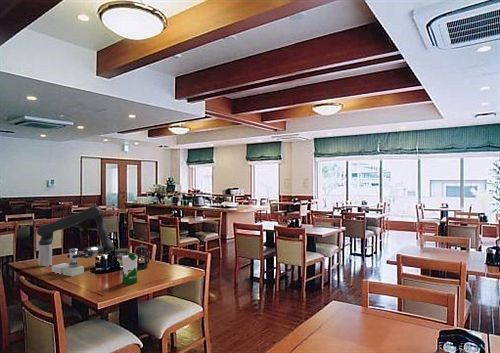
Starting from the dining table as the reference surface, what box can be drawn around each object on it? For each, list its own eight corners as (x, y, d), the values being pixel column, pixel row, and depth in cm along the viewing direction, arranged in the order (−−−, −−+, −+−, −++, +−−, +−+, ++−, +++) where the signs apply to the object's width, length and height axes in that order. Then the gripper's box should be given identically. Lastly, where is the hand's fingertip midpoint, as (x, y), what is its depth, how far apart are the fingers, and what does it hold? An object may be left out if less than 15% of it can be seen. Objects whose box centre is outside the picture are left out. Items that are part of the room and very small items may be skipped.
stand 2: (62, 274, 259) (62, 267, 259) (75, 271, 268) (75, 264, 268) (71, 276, 254) (71, 269, 254) (83, 273, 263) (83, 266, 263)
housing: (67, 265, 260) (67, 249, 260) (74, 264, 265) (74, 248, 265) (72, 266, 257) (72, 250, 257) (79, 265, 262) (79, 248, 262)
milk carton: (127, 285, 232) (127, 255, 232) (120, 283, 238) (120, 253, 238) (139, 282, 239) (139, 252, 239) (131, 280, 245) (131, 251, 245)
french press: (139, 270, 270) (139, 240, 270) (132, 268, 276) (132, 239, 276) (152, 267, 280) (152, 238, 280) (144, 265, 285) (144, 237, 285)
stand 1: (51, 272, 265) (51, 265, 265) (64, 269, 274) (64, 263, 274) (60, 274, 260) (60, 267, 260) (72, 271, 269) (72, 264, 269)
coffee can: (128, 268, 276) (128, 250, 276) (114, 269, 273) (114, 251, 273) (129, 265, 286) (129, 248, 286) (115, 266, 283) (115, 248, 283)
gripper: (83, 246, 277) (63, 250, 262) (96, 248, 270) (76, 252, 255) (84, 256, 277) (63, 260, 262) (96, 258, 271) (76, 262, 255)
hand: (70, 256), depth 259 cm, fingers closed on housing, 5 cm apart
